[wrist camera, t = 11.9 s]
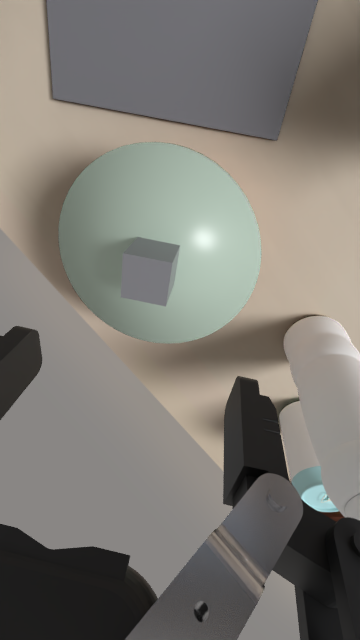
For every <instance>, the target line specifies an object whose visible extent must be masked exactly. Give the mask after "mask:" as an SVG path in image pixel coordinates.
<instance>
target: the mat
mask: <svg viewBox="0 0 360 640" xmlns="http://www.w3.org/2000/svg"><path fill="white" fill-rule="evenodd" d="M317 1H318V0H47V15H48V30H49V45H50V60H51V75H52V89H53V98H54V99H58V100H63V101H69V102H74V103H79V104H85V105H90V106H95V107H101V108H106V109H111V110H117V111H122V112H127V113H133V114H138V115H143V116H149V117H154V118H159V119H165V120H170V121H175V122H181V123H186V124H191V125H197V126H202V127H207V128H213V129H218V130H223V131H229V132H234V133H239V134H245V135H250V136H255V137H261V138H266V139H271V140H277V139H278V135H279V132H280V129H281V125H282V122H283V118H284V115H285V111H286V108H287V104H288V101H289V98H290V94H291V91H292V87H293V84H294V80H295V77H296V74H297V70H298V67H299V63H300V60H301V56H302V53H303V50H304V46H305V43H306V39H307V36H308V32H309V29H310V25H311V22H312V19H313V15H314V12H315V8H316V5H317Z"/></svg>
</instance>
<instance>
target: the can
mask: <svg viewBox="0 0 360 640" xmlns="http://www.w3.org/2000/svg"><path fill="white" fill-rule="evenodd" d="M279 421H280V426H281V431H282V436H283V442H284V447H285V452H286V457H287V462H288V467H289V472H290V478H291V483H292V485H293V486H294V487H295V489H296V490H297V492H298V493H299V495H300V497H301V499H302V500H303V501H304V502H305V503H306V504H308V505H309V506H310V507H312V508H314V509H315V510H317V511H320V512H337V511H339V510H338V509H337V508H336V506H335V505H334V504H333V503H332V501H331V500H330V498H329V497H328V495H327V493H326V491H325V489H324V486H323V483H322V479H321V466H320V464H319V461H318V459H317V456H316V454H315V451H314V448H313V445H312V442H311V439H310V436H309V433H308V430H307V426H306V423H305V419H304V416H303V412H302V408H301V404H300V401H297V402H293V403H291V404H289V405H287V406H286V407H285V408H283V410H282V411H281V412H280V415H279Z"/></svg>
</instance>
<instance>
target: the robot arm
mask: <svg viewBox="0 0 360 640" xmlns="http://www.w3.org/2000/svg"><path fill="white" fill-rule="evenodd" d="M41 364H42V354H41V347H40V339H39V334H38V331H36V330H33V329H29V328H24V327H20V326H15V327H13V328H12V329H11V330H10V331H9V332H7V333H6V334H5V335H4V336H0V420H1V418H2V417H3V416H4V415H5V413H6V412H7V411H8V410H9V409H10V407H11V406H12V405H13V403H14V402H15V401H16V400H17V399H18V397H19V396H20V395H21V394H22V392H23V391H24V390H25V389H26V387H27V386H28V385H29V384H30V383H31V381H32V380H33V379H34V378H35V376H36V375H37V374H38V372H39V370H40V368H41ZM223 498H224V499H223V504H226V505H230V506H233V510H232V511H231V512H230V514H229V515H228V516H227V517H226V519H225V520H224V521H223V522H222V523H221V525H220V526H219V527H218V528H217V529H216V530H214V531H213V532H212V533H211V534H210V535H209V537H208V538H207V539H206V540H205V542H204V543H203V544H202V545H201V546H200V548H199V549H198V550H197V551H196V553H195V554H194V555H193V556H192V557H191V559H190V560H189V561H188V562H187V564H186V565H185V566H184V567H183V569H182V570H181V571H180V572H179V574H178V575H177V576H176V577H175V578H174V580H173V581H172V582H171V583H170V585H169V586H168V587H167V588H166V590H165V591H164V592H163V593H162V594H161V596H160V597H159V598H157V596H156V594H155V593H154V591H153V590H152V588H151V586H150V585H149V584H148V583H147V581H146V580H145V579H144V578H143V577H142V576H141V575H140V574H139V573H138V572H136V571H135V570H134V569H132V568H131V567H130V566H128V563H129V558H130V556H129V555H126V554H122V553H118V552H113V551H109V550H105V549H101V548H97V547H81V548H68V549H55V550H51V549H48V548H46V547H44V546H43V545H42V544H40V543H38V542H37V541H35V540H34V539H33V538H31V537H30V536H28V535H27V534H25V533H24V532H22V531H21V530H19V529H18V528H15V527H11V526H7V525H3V524H0V640H237V638H238V637H239V635H240V633H241V631H242V630H243V628H244V626H245V624H246V622H247V621H248V619H249V617H250V615H251V614H252V612H253V610H254V608H255V606H256V605H257V603H258V601H259V599H260V597H261V595H262V593H263V590H264V587H265V586H264V584H265V582H266V580H267V578H268V576H269V574H270V572H271V571H272V570H273V571H275V572H276V573H278V574H279V575H281V576H282V577H284V578H285V579H287V580H288V581H289V582H291V583H292V584H294V585H295V593H296V603H297V612H298V622H299V632H300V640H360V521H359V520H357V519H355V518H350V517H345V518H341V519H340V520H338V521H337V522H336V521H334V520H333V519H331V518H329V517H327V516H326V515H324V514H322V513H321V512H319V511H317V510H315V509H314V508H312V507H310V506H309V505H308V504H306V503H305V502H304V501H303V500H302V499H301V497H300V495H299V493H298V492H297V490H296V489H295V487H294V486H293V485H292V484H291V483H290V481H289V478H288V473H287V468H286V462H285V456H284V451H283V445H282V440H281V435H280V428H279V424H278V417H277V411H276V408H275V406H274V405H273V403H272V402H271V400H270V398H269V397H267V396H263V395H260V393H259V385H258V381H257V380H254V379H249V378H245V377H240V376H237V378H236V380H235V383H234V385H233V388H232V391H231V393H230V396H229V398H228V401H227V404H226V409H225V416H224V494H223Z"/></svg>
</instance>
